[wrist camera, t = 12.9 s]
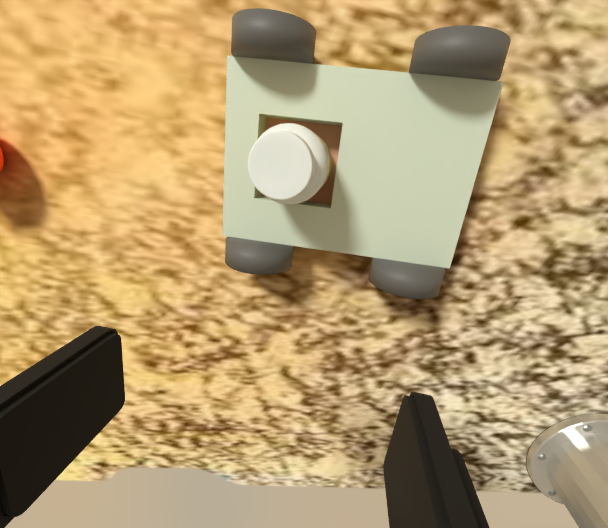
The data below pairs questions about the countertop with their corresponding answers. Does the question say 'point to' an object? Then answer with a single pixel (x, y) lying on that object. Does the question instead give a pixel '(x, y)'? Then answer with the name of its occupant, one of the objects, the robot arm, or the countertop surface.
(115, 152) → the countertop surface
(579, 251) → the countertop surface
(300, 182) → the supplement bottle
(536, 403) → the countertop surface
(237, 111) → the chassis
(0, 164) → the tomato
